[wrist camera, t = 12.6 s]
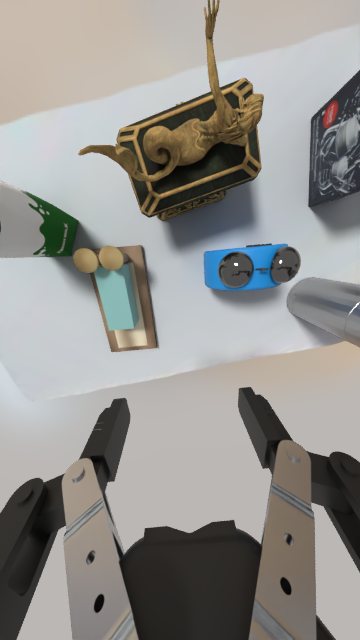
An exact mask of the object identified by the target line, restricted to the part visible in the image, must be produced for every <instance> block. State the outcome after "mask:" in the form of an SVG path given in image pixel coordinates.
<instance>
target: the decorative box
mask: <svg viewBox="0 0 360 640" xmlns="http://www.w3.org/2000/svg"><path fill="white" fill-rule="evenodd" d="M218 8H219V0H217V6H216V8H215V0H213V10H212V14H211V8H210V0H208V10H209V15H208V18H207V14H206V8H205V7H204V12H205V19H206V30H205V32H206V43H207V60H208V75H209V83H210V88H211V92H208V93H206V94H204V95H201V96H199V97H196V98H194V99H191V100H189V101H187V102H184V103H183V102H181V104H176V106H175V107H172V108H170V109H167V110H165V111H162V112H160V113H158V114H155V115H153V116H150V117H148V118H146V119H143V120H141V121H138V122H136V123H133V124H131V125H129V126H126V127H124V128H121V129H120V130H119V133H118V137H117V143H118V145H117V144H116V146H115V147H114V146H112V145H90V146H87V147H86V148H84V149H82V150H80V151H79V153H78V155H84V154H87V153H90V152H94V153H100V154H103V155H106V156H108V157H109V158H111V159H112V160H114V161H115V162H117V163H118V164H119V165H120V166H121V167H122V168H123V169H124V170H125V171H126V172H127V173H128V175H129V178H130V181H131V184H132V187H133V190H134V193H135V195H136V198H137V201H138V204H139V207H140V210H141V212H142V214H144V215H146V216H147V217H149V218H150V217H153V216H156V215H157V217H158V218H159V219H161V220H163V221H164V220H166V219H169V218H172V217H175V216H177V215H180V214H183V213H186V212H189V211H191V210H194V209H197V208H200V207H203V206H205V205H208V204H211V203H214V202H216V201H219V200H222V199H223V198H224V196H225V194H226V192H227V191H226V190H227V189H230V188H233V187H235V186H238V185H241V184H244V183H246V182H249V181H252V180H254V179H255V178H256V177H257V175H258V173H259V172H260V170H261V159H260V150H259V141H258V131H257V124H258V123H259V121H260V119H261V116H262V105H263V99H264V96H263V94H253V85H252V84H251V83H250V82H249V81H248V80H247V79H246V78H242V79H240V80H237V81H235V82H233V83H230V84H228V85H225V86H223V87H219V80H218V73H217V67H216V62H215V57H214V50H213V42H212V41H213V39H212V36H213V32H214V27H215V21H216V16H217V12H218Z"/></svg>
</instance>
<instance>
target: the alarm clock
mask: <svg viewBox="0 0 360 640" xmlns="http://www.w3.org/2000/svg"><path fill="white" fill-rule="evenodd" d="M300 265H301V258H300V254H299V253H298V251H297V250H296V249H295V248H293V247H288V245H287V244H277V245H272V244H266V245H265V244H262V245H260V244H259V245H253V246H252V245H249V246H246V248H236V249H226V250H216V251H206V252H205V253H204V274H205V285H206V286H207V287H209V288H212V289H218V290H230V291H245V290H259V289H266V288H272V287H275V286H278V285H280V284H282V283H285V282H288V281H290V280H291V279H292V278H294V277H295V275H296V274H297V273H298V271H299V269H300Z"/></svg>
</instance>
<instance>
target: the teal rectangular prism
mask: <svg viewBox="0 0 360 640" xmlns="http://www.w3.org/2000/svg"><path fill="white" fill-rule="evenodd" d="M94 274H95V278H96V282H97V286H98V290H99V293H100V297H101V301H102V305H103V309H104V313H105V316H106V320H107V324H108V328H109V331H111V330H122V329H133V328H135V326H136V324H137V322H138V321H139V316H138V311H137V305H136V300H135V294H134V289H133V283H132V278H131V273H130V267H129V264H123V266H122V267H121V268H120V269H118V270H114V271H111V270H107V269H106V268H104V267H103V266H101V267H98V269H97V270H96V271H94Z"/></svg>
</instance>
